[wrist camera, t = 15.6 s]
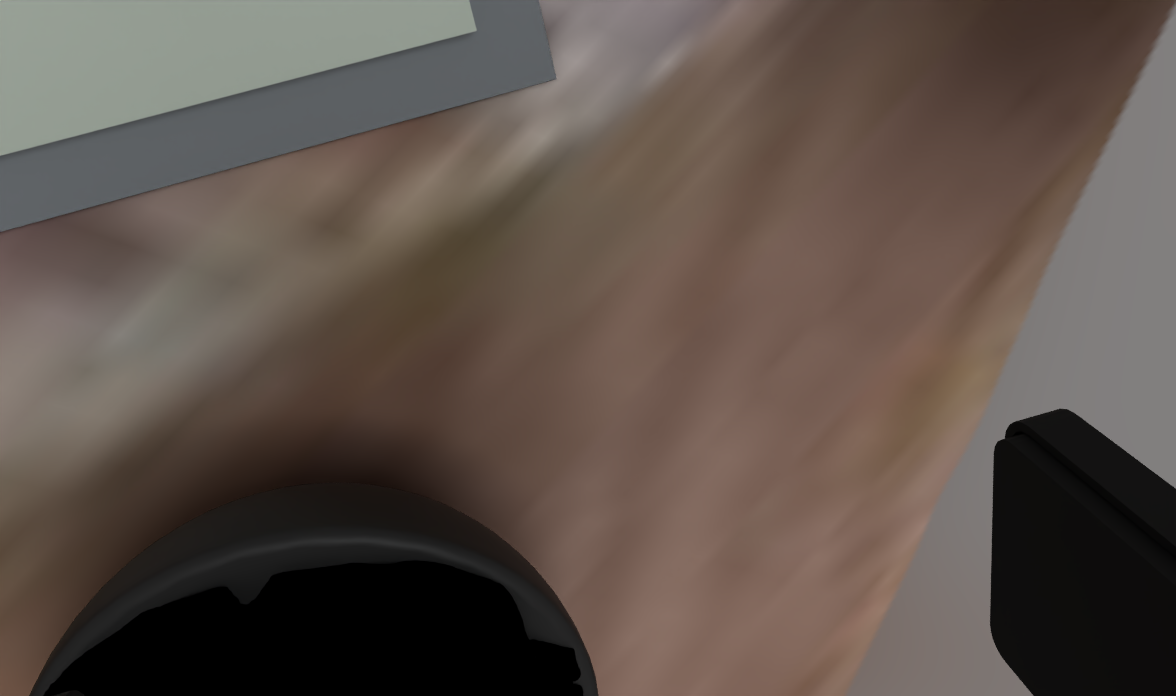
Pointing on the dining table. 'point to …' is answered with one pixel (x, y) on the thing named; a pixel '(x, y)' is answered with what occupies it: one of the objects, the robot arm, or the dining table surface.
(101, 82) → the lid
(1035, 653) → the robot arm
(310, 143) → the mat
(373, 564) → the coal bowl
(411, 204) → the dining table surface
